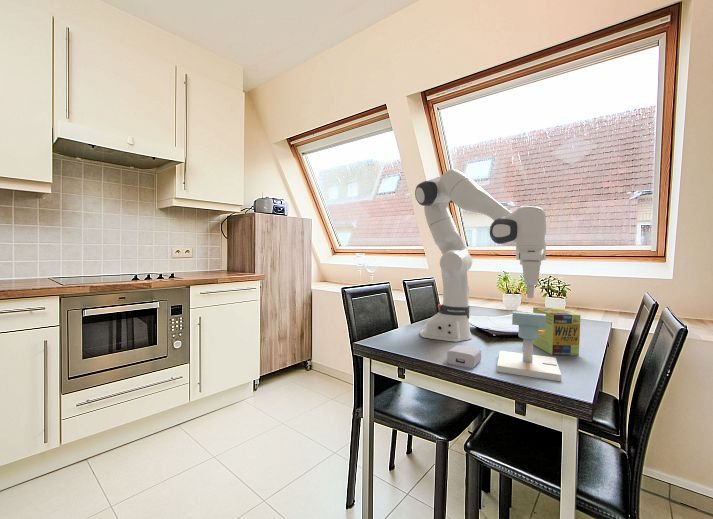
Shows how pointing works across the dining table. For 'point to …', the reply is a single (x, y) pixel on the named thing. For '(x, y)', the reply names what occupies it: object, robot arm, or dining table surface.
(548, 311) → the protein box
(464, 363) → the charger
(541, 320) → the coupling
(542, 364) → the post base
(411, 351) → the dining table surface
